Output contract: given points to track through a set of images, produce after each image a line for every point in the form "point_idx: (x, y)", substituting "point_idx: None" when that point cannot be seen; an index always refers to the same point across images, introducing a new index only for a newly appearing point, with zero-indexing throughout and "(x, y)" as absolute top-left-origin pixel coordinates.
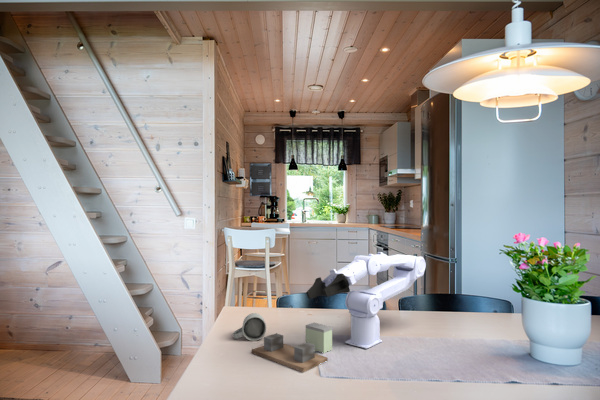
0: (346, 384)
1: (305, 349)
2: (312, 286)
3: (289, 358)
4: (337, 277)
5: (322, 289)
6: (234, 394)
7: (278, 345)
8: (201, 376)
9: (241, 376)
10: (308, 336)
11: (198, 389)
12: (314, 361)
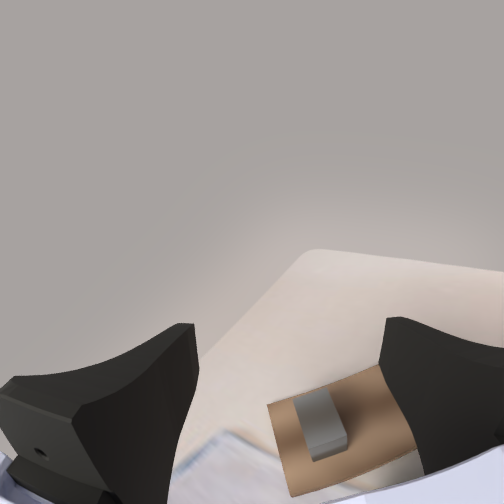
0: None
1: (296, 411)
2: (442, 337)
3: (346, 399)
4: (81, 384)
5: (450, 455)
6: (265, 293)
7: None
8: (351, 265)
9: (322, 308)
10: None
11: (308, 263)
12: (288, 448)
